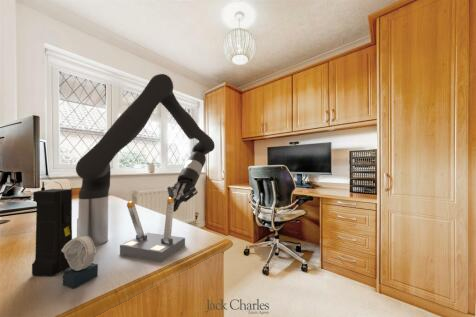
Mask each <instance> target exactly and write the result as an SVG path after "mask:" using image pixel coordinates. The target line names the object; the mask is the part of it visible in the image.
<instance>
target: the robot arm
mask: <svg viewBox="0 0 476 317" xmlns="http://www.w3.org/2000/svg"><path fill="white" fill-rule="evenodd" d="M173 91H174V82H173V80H172V78H171V77H170V76H169V75H168V74H166V73H165V74H164V73H158V74H155V75H154V76H152V77H151V78H150V80H149V82H148V83H147V84H146V85H145V87H144V88H143V90H142V91H141V93H140V94H139V95H138V97H137V98H136V99H134V100H133V101H132V103H131V104H129V105H128V107H127V108H126V109H125V110H124V111H123V112H122V113H121V114H120V116H118V118H116V120H115V121H114V123H113V124H112V125H111V126H110V127H109V129H108V130H106V132H105V134H103V136H102V137H101V139H100V140H99V141H98V142H97V143H96V144H95V145H93V147H92V148H91V149H89V150H88V151H87V152H86V154H84V155H83V156H81V158H80V159H79V160H78V161H77V162H76V166H75V173H76V175H77V176H78V177H79V178H81V180H82V182H81V187H80V189H79V191H78V211H77V212H78V213H77V214H78V218H77V219H76V237H80V236H89V237H90V238H91V239H92V240H93V242H94V245H95V246H98V245H101V244H102V245H103V243H106V242H108V240H109V194H110V193H109V192H110V187H111V164H110V163H111V162H112V161H113V160H114V158H115V157H116V156H117V154H118V153H119V152H120V151H121V150H123V148H125V147H126V146H128V145H129V144H130V143H131V142H132V141H133V140H134V139H136V138H137V137H138V135H139V134H140V133H141V131H142V130H143V129H144V128H145V127H146V125H147V124H148V122H149V119H150V118H151V117H152V114H153V112H154V111H155V109H156V107H157V106H158V105H159V104H161V105H162V106H163V107H164V108H165V109H166V110H167V111H168V113H169V114H170V115H171V117H173V119H174V120H175V122H176V123H177V125H178V126H179V127H180V128H181V130H182V132H184V134H185V136H186V137H187V138H188V139H189V140H193V139H195V140H197V142H196V143H194V145H193V146H192V149H191V152H190V156H189V158H188V160H187V162H185V164H184V166H183V167H182V169H181V171H180V173H179V175H178V177H177V181H176V182H175V183H174V185H173V186H168V187H167V192H168V197H169V198H173V199H174V209H173V213H174V212H177V211H178V210H179V208H180V205H181V204H182V203H183V202H184V203H187V202H188V201H189V200H191V198H193V197H194V196H195V195H197V194H198V189H197V188H196V187H195V186H196V185H197V183H198V180H199V179H200V176H201V175H202V171H203V168H204V166H205V164H206V160H207V159H206V155H207V154H209V153H211V152H213V151H214V149H215V141H214V140H213V138H212V137H211V136H209V135H208V134H207V133H206V132H205V131H204V130H203V129H201V127H200V126H199V124H197V122H196V120H195V119H194V118H193V116H191V115H190V114H189V112H187V110H186V109H184V107H183V106H182V105H181V104H180V103H179V101H178V99H177V98H176V95H175V94H174V92H173Z"/></svg>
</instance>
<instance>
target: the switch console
mask: <svg viewBox="0 0 476 317" xmlns="http://www.w3.org/2000/svg"><path fill="white" fill-rule="evenodd" d="M163 239H164V234H160V233H154V232H147V233H144V236H143V239H138V237H137V234H135V238H132V239H130V240H128V241H125V242H123V243H122V244H119V255H122V256H126V257H127V256H128V257H133V258H139V259H142V260H149V261H153V262H159V263H163V262H164V261H166V260H167V259H169V258H171V257H172V256H173V255H174V254H176V253H177V252H178V251H180V250H181V249H183V248H185V247H186V237H181V236H174V235H171V239H170V240H169V242H164V241H163Z"/></svg>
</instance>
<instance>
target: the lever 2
mask: <svg viewBox="0 0 476 317" xmlns="http://www.w3.org/2000/svg"><path fill="white" fill-rule="evenodd" d="M173 209H174V199H173V198H170V197H169V198H168V199H167V200H166V210H165V219H164V228H163V229H164V232H163V235H164V239H163V241H164V242H169V240H170V239H171V236H172V229H173V218H174V217H173V216H174V212H173Z"/></svg>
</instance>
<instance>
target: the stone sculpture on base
mask: <svg viewBox="0 0 476 317" xmlns="http://www.w3.org/2000/svg"><path fill="white" fill-rule="evenodd" d="M83 248H84V250H85V256H84V257H83V261H82V262H81V260H80V257H79V254H80V253H81V252H82V250H83ZM62 252H63V253H64V255H65V258H66V259H67V261H68V263H69V265H70V268H68V269H66V271H65V270H64V271H62V286H64V287H67V288H69V289H77V288H79V287H80V286H82V285H85V284H86V283H88V282H90V281H92V280H93V279H95V278H97V277H98V271H99V268H98V267H99V264H97V263H93V262H94V260H95V257H96V245H94V242H93V240H92V239H91V238H90V237H89V236H80V237H77V236H76V237H74V238H72V240H70V241H69V242H68V243H66V245H65V246H64V247H63V249H62ZM71 260H72V261H71Z"/></svg>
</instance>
